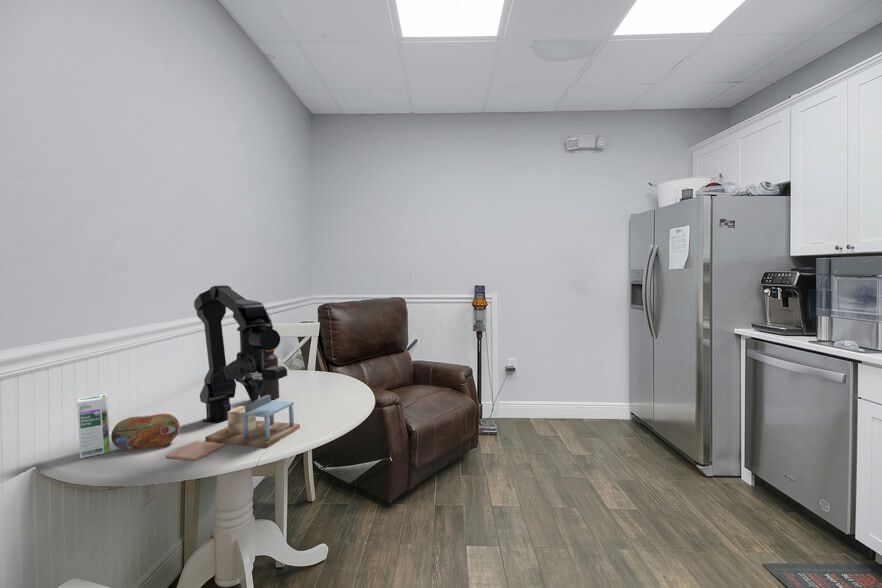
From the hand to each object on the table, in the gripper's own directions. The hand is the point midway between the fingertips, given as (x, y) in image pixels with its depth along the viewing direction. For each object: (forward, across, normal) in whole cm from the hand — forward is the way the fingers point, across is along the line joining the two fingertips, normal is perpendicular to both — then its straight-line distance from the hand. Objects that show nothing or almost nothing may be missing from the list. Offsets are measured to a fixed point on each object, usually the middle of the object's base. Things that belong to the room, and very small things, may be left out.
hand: (254, 402), depth 115 cm
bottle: (+9, -20, +32) cm, 39 cm away
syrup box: (+9, -33, -19) cm, 40 cm away
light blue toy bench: (+8, +5, 0) cm, 9 cm away
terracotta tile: (+9, -7, -13) cm, 17 cm away
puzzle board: (+9, 0, 0) cm, 9 cm away
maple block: (+9, -4, 0) cm, 10 cm away
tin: (+10, -23, -13) cm, 28 cm away
